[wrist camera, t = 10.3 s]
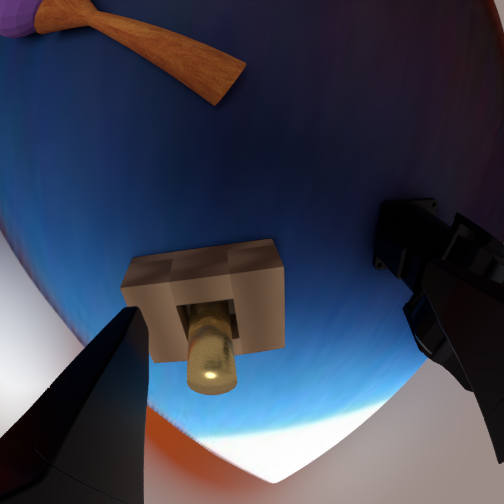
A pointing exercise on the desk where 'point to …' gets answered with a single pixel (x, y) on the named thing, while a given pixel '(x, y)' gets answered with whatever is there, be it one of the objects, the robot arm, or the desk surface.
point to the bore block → (210, 295)
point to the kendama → (129, 41)
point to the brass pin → (210, 349)
